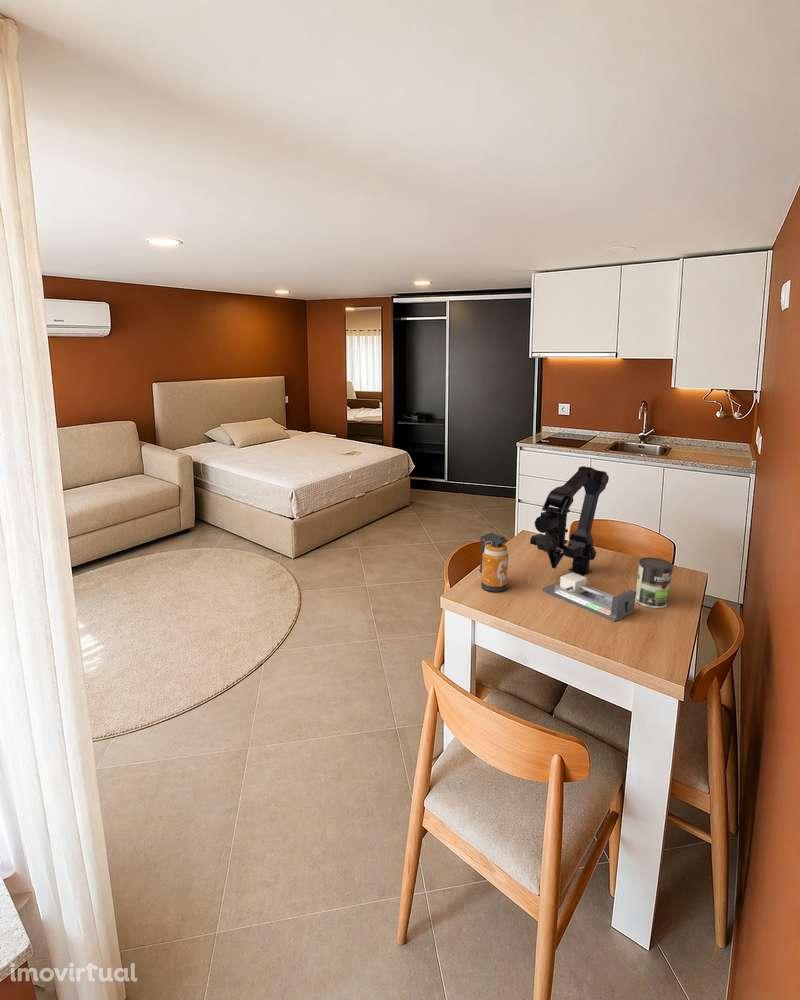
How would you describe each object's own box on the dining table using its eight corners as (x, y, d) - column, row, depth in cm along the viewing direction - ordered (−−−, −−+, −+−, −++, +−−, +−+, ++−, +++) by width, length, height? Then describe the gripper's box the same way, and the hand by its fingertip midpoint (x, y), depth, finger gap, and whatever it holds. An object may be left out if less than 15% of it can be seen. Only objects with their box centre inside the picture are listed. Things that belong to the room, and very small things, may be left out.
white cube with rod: (570, 585, 193) (572, 572, 191) (608, 600, 181) (610, 586, 180) (553, 592, 187) (555, 578, 186) (591, 608, 176) (593, 593, 174)
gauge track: (563, 582, 199) (565, 564, 197) (635, 611, 177) (637, 591, 175) (542, 590, 192) (543, 571, 190) (614, 621, 170) (616, 600, 168)
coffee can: (674, 606, 181) (680, 566, 177) (648, 610, 178) (653, 570, 174) (652, 593, 190) (658, 555, 186) (627, 596, 188) (632, 558, 184)
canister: (495, 595, 188) (498, 540, 183) (471, 585, 196) (473, 532, 191) (511, 588, 194) (515, 535, 188) (488, 578, 202) (490, 527, 196)
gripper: (521, 523, 192) (518, 565, 196) (565, 538, 178) (561, 582, 182) (541, 518, 199) (538, 558, 203) (585, 531, 184) (581, 574, 188)
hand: (553, 568), depth 194 cm, fingers closed
